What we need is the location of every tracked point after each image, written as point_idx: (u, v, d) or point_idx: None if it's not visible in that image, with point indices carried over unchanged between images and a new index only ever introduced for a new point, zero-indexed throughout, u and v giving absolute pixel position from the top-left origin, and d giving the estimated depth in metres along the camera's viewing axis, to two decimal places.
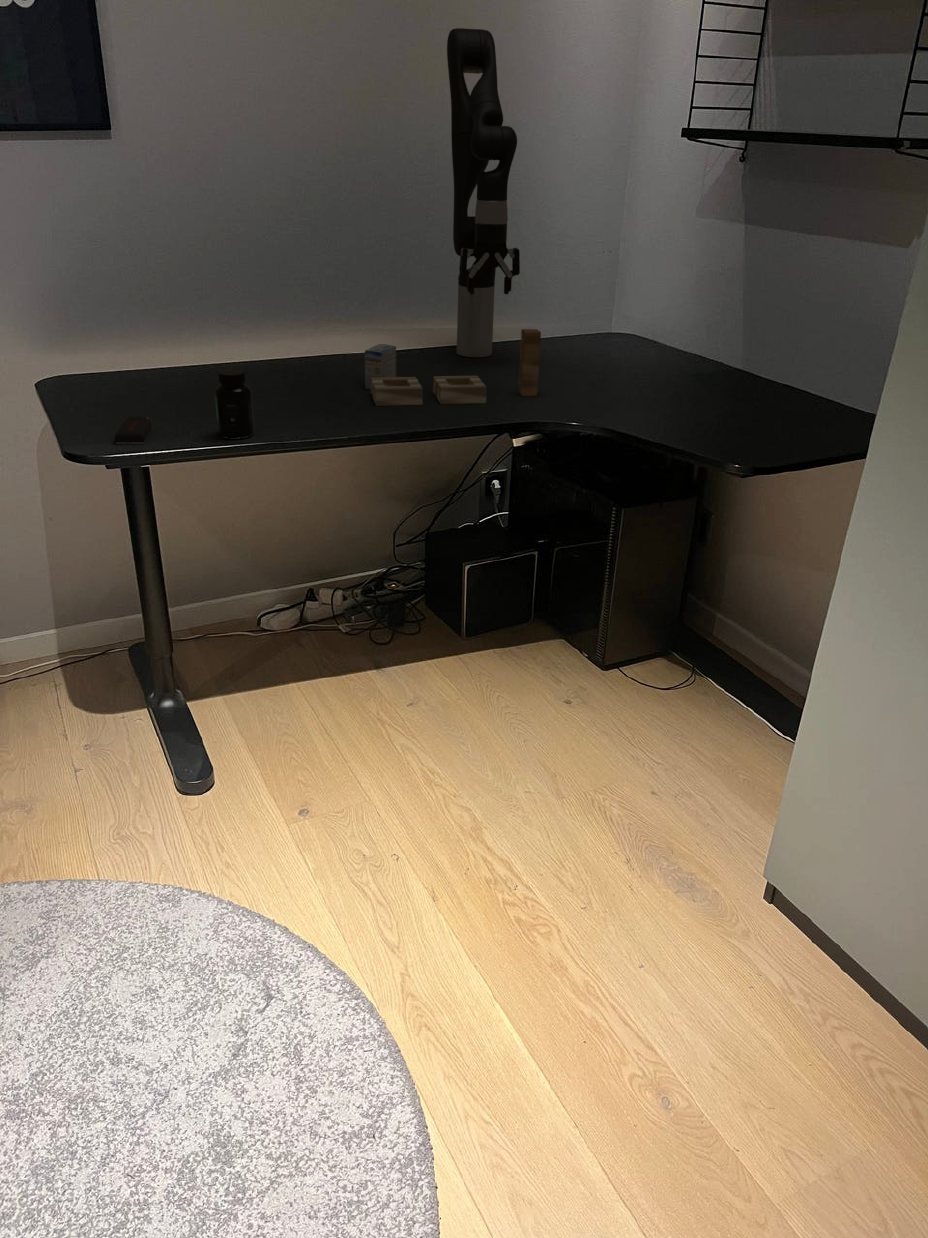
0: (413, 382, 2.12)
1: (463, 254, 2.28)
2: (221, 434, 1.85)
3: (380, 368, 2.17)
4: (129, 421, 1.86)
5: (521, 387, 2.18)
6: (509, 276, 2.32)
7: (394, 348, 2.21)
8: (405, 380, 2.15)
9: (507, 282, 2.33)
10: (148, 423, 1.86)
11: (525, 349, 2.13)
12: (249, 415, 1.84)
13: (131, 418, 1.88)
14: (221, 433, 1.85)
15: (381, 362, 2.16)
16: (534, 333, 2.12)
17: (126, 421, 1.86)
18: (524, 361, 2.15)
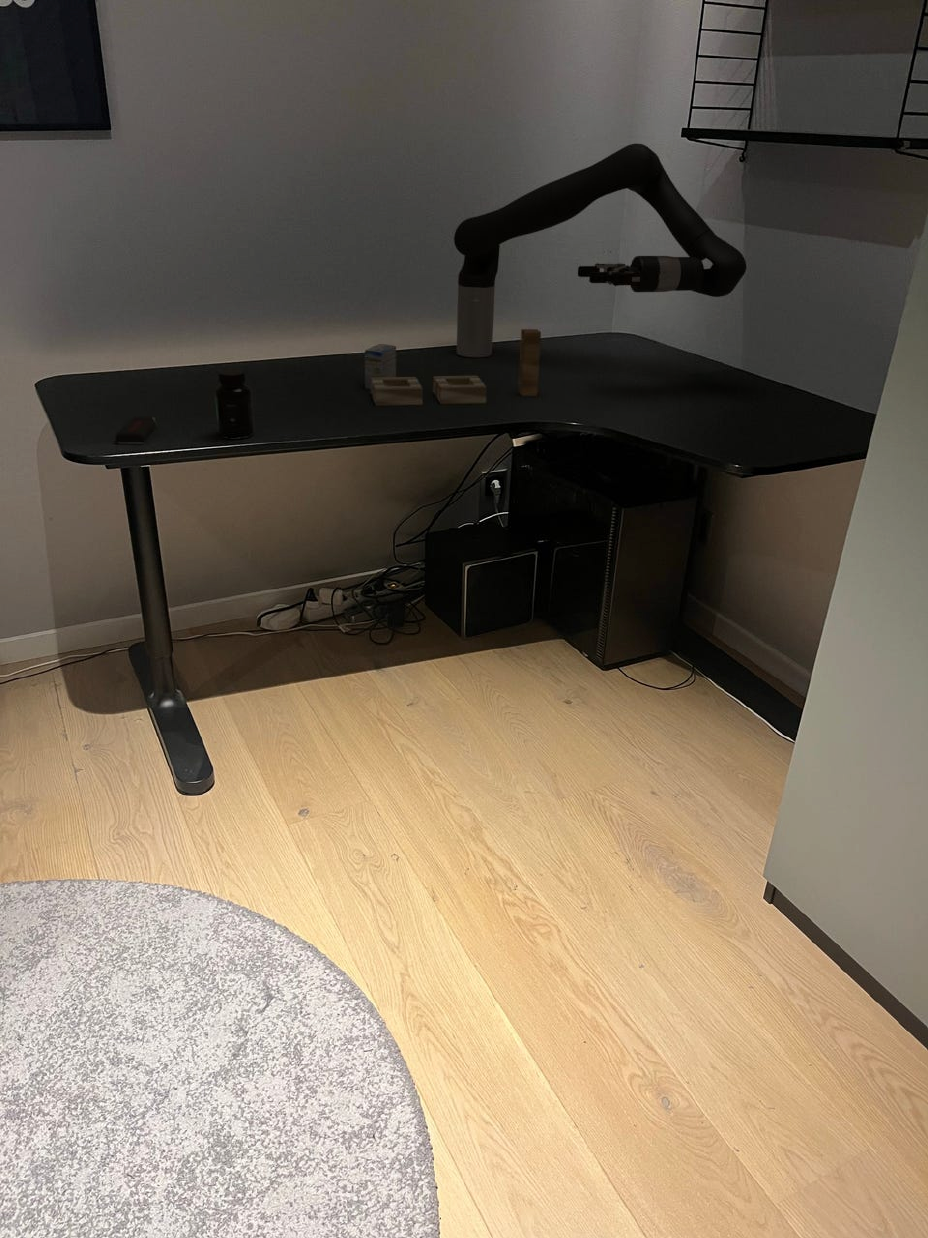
0: (413, 382, 2.12)
1: (633, 284, 2.06)
2: (221, 434, 1.85)
3: (380, 368, 2.17)
4: (133, 421, 1.86)
5: (521, 387, 2.18)
6: None
7: (394, 348, 2.21)
8: (405, 380, 2.15)
9: (589, 276, 2.15)
10: (152, 423, 1.86)
11: (525, 349, 2.13)
12: (249, 415, 1.84)
13: (136, 418, 1.88)
14: (221, 433, 1.85)
15: (381, 362, 2.16)
16: (534, 333, 2.12)
17: (130, 421, 1.86)
18: (524, 361, 2.15)
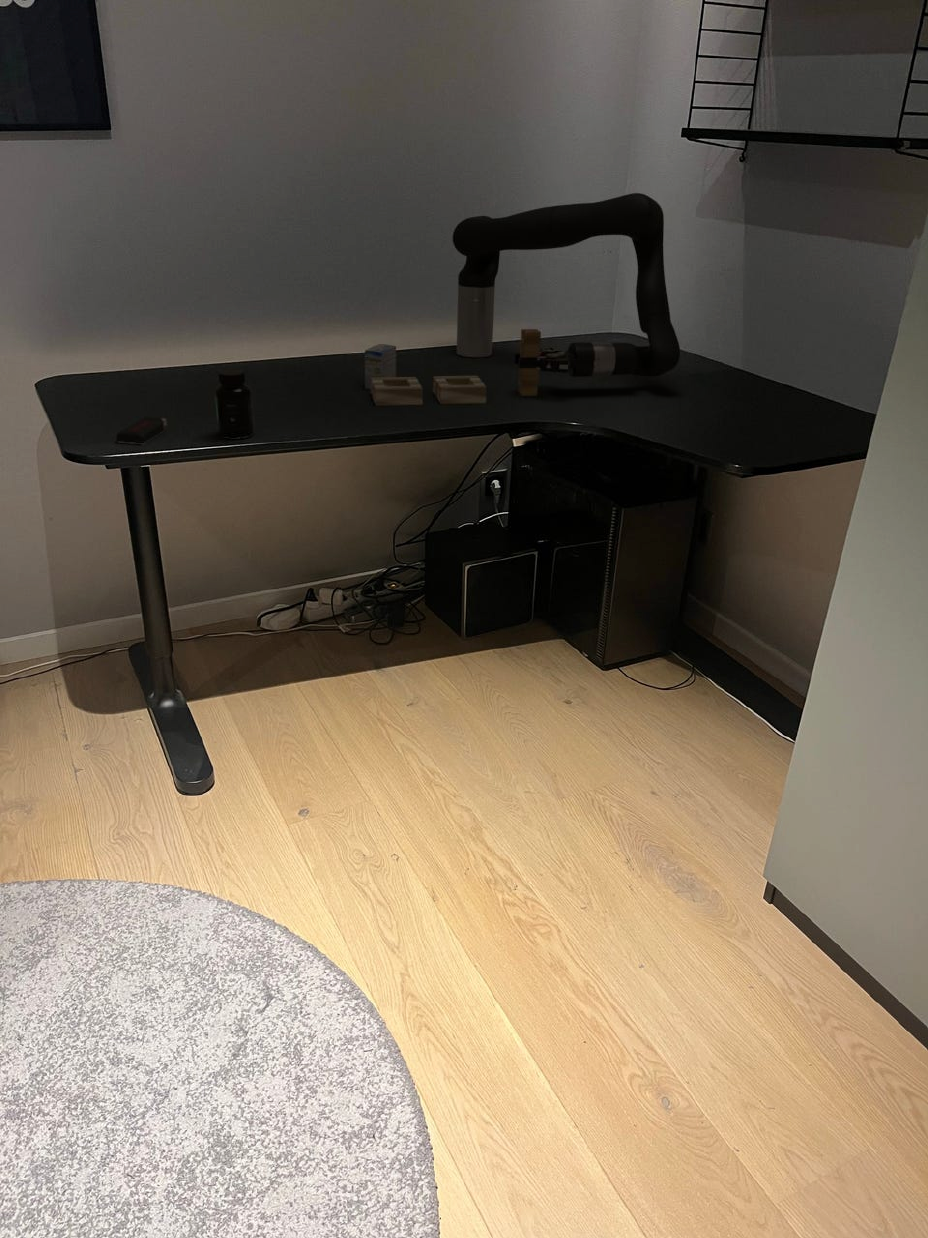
0: (413, 382, 2.12)
1: (561, 371, 2.13)
2: (221, 434, 1.85)
3: (380, 368, 2.17)
4: (142, 421, 1.86)
5: (522, 387, 2.18)
6: None
7: (394, 348, 2.21)
8: (405, 380, 2.15)
9: None
10: (158, 424, 1.86)
11: (525, 349, 2.13)
12: (249, 415, 1.84)
13: (146, 418, 1.88)
14: (221, 433, 1.85)
15: (381, 362, 2.16)
16: (534, 333, 2.12)
17: (139, 420, 1.87)
18: None
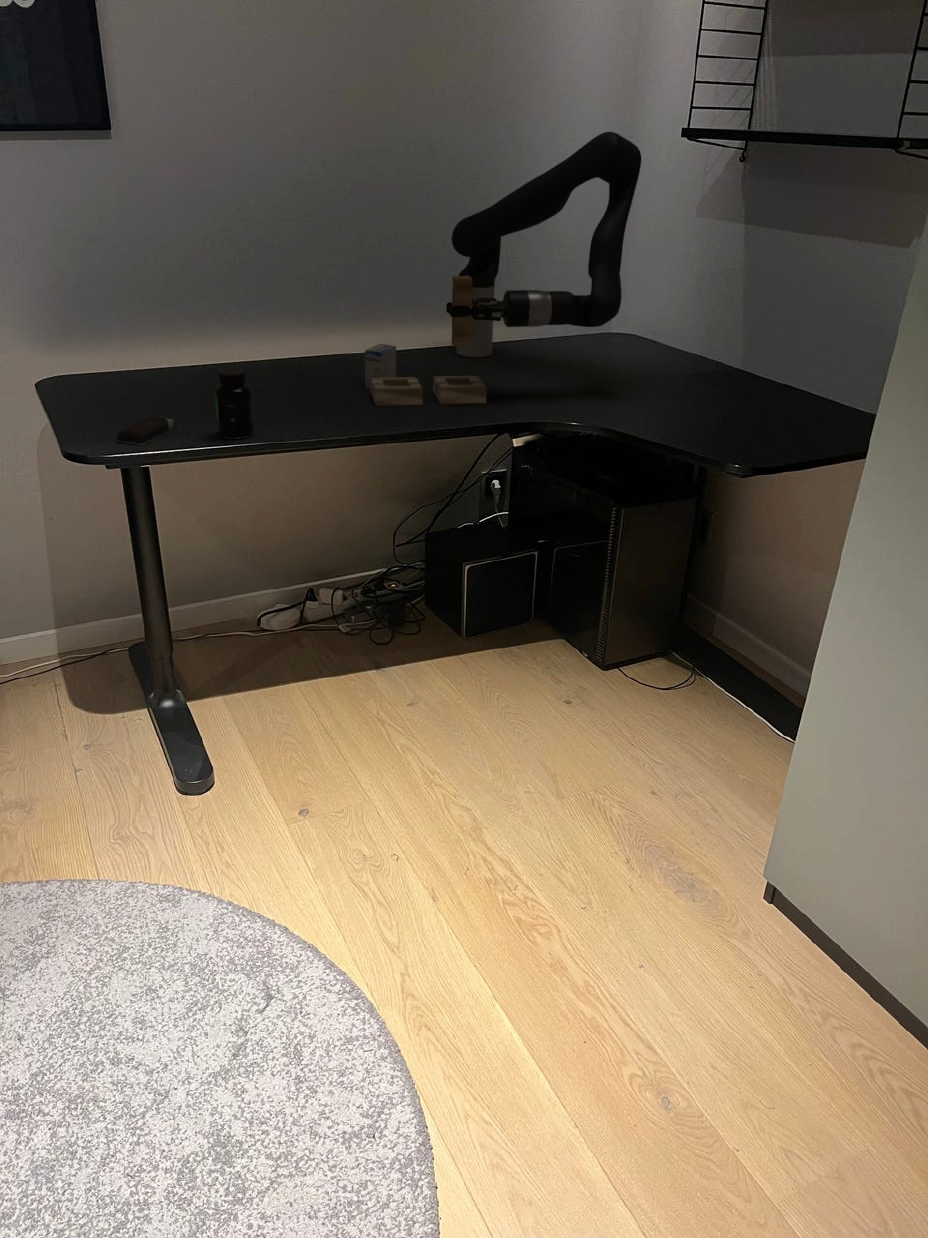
0: (413, 382, 2.12)
1: (494, 320, 2.03)
2: (221, 434, 1.85)
3: (380, 368, 2.17)
4: (147, 421, 1.86)
5: (454, 338, 2.08)
6: None
7: (394, 348, 2.21)
8: (405, 380, 2.15)
9: None
10: (162, 425, 1.85)
11: (456, 297, 2.04)
12: (249, 415, 1.84)
13: (152, 418, 1.88)
14: (221, 433, 1.85)
15: (381, 362, 2.16)
16: (465, 279, 2.03)
17: (144, 420, 1.87)
18: None
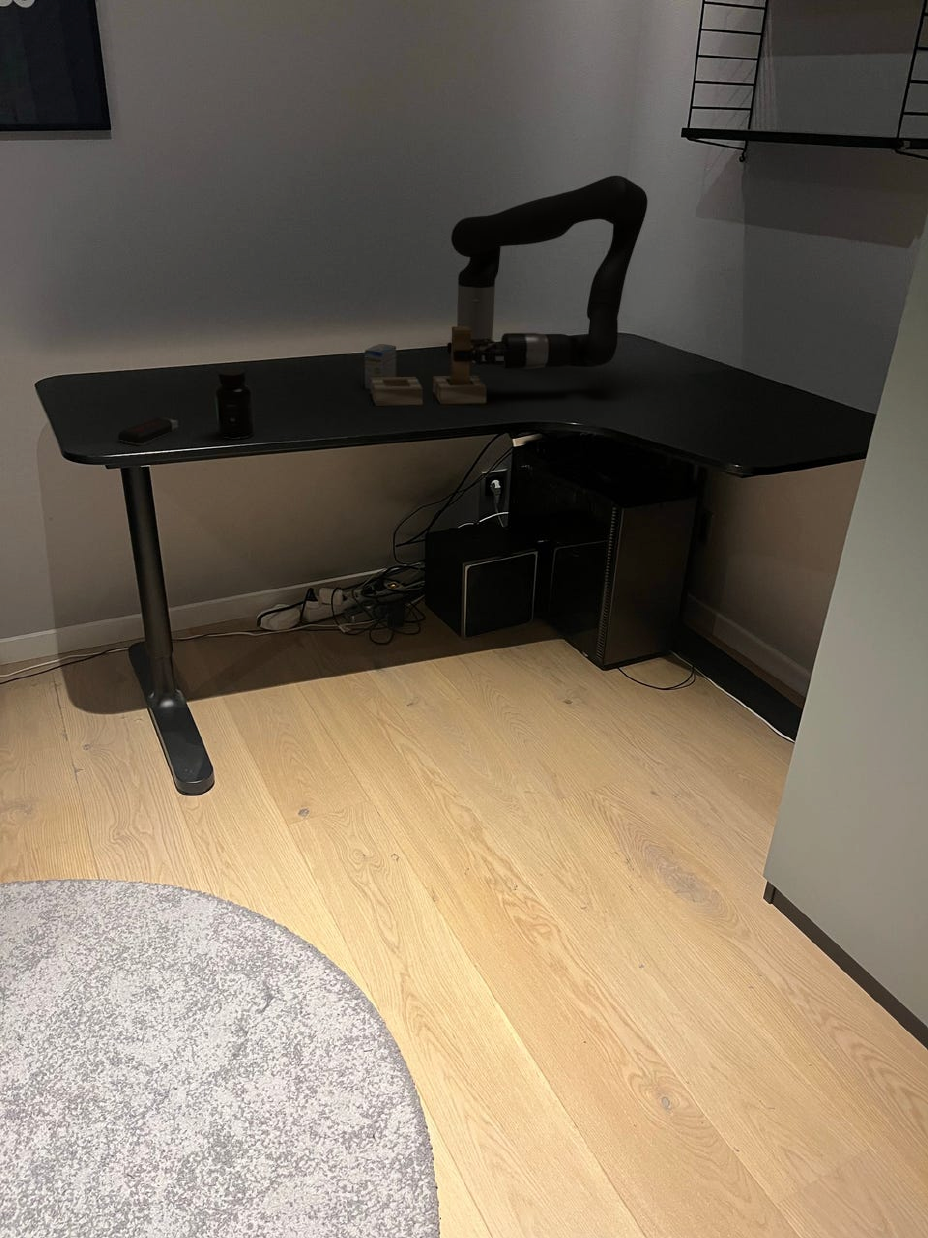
0: (413, 382, 2.12)
1: (497, 363, 2.07)
2: (221, 434, 1.85)
3: (380, 368, 2.17)
4: (150, 421, 1.86)
5: None
6: None
7: (394, 348, 2.21)
8: (405, 380, 2.15)
9: None
10: (164, 426, 1.85)
11: (455, 347, 2.09)
12: (249, 415, 1.84)
13: (156, 419, 1.88)
14: (221, 433, 1.85)
15: (381, 362, 2.16)
16: (464, 330, 2.08)
17: (148, 421, 1.87)
18: None
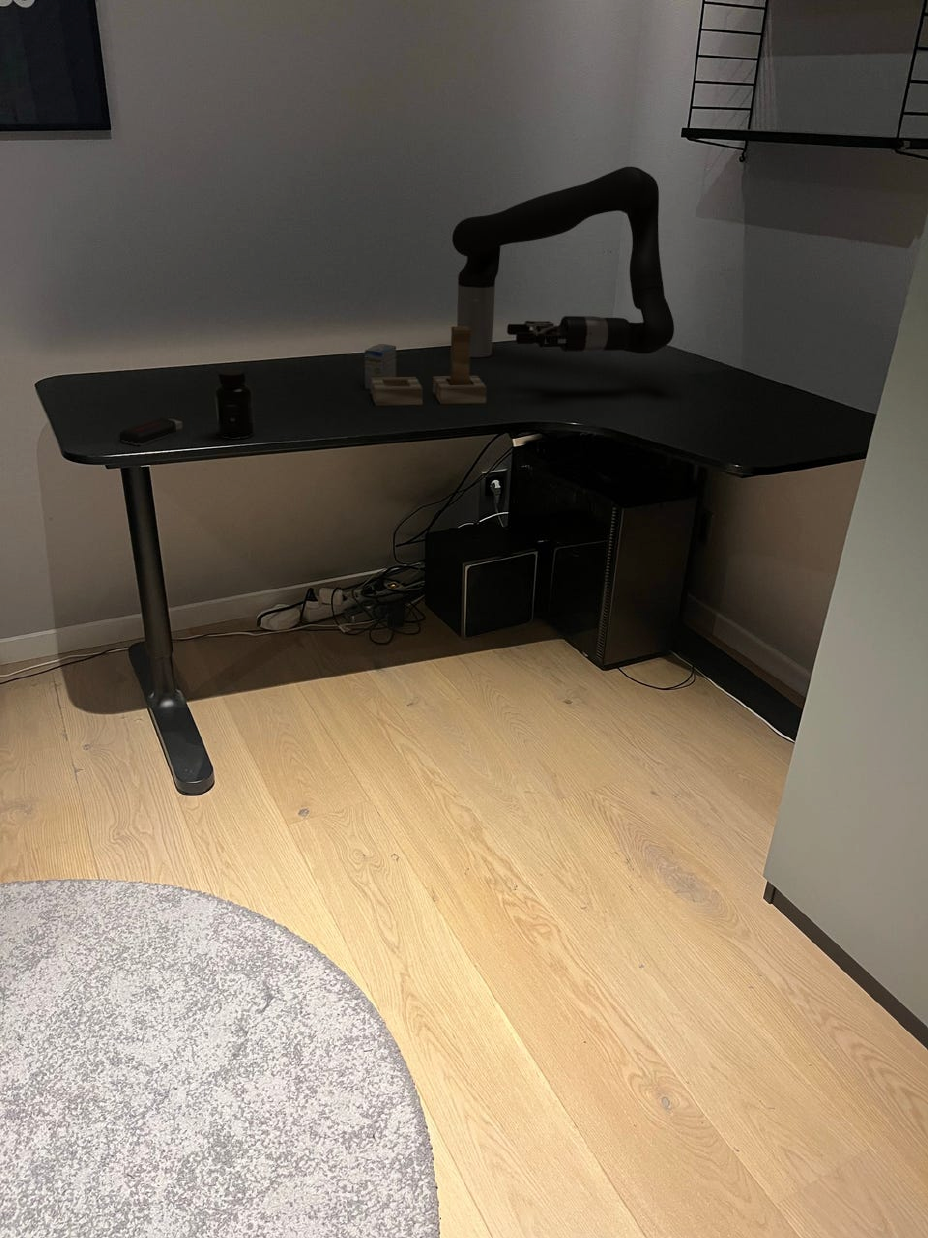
0: (413, 382, 2.12)
1: None
2: (221, 434, 1.85)
3: (380, 368, 2.17)
4: (154, 421, 1.86)
5: None
6: None
7: (394, 348, 2.21)
8: (405, 380, 2.15)
9: None
10: (166, 427, 1.85)
11: (455, 347, 2.09)
12: (249, 415, 1.84)
13: (161, 419, 1.87)
14: (221, 433, 1.85)
15: (381, 362, 2.16)
16: (463, 330, 2.07)
17: (152, 421, 1.87)
18: (454, 359, 2.10)
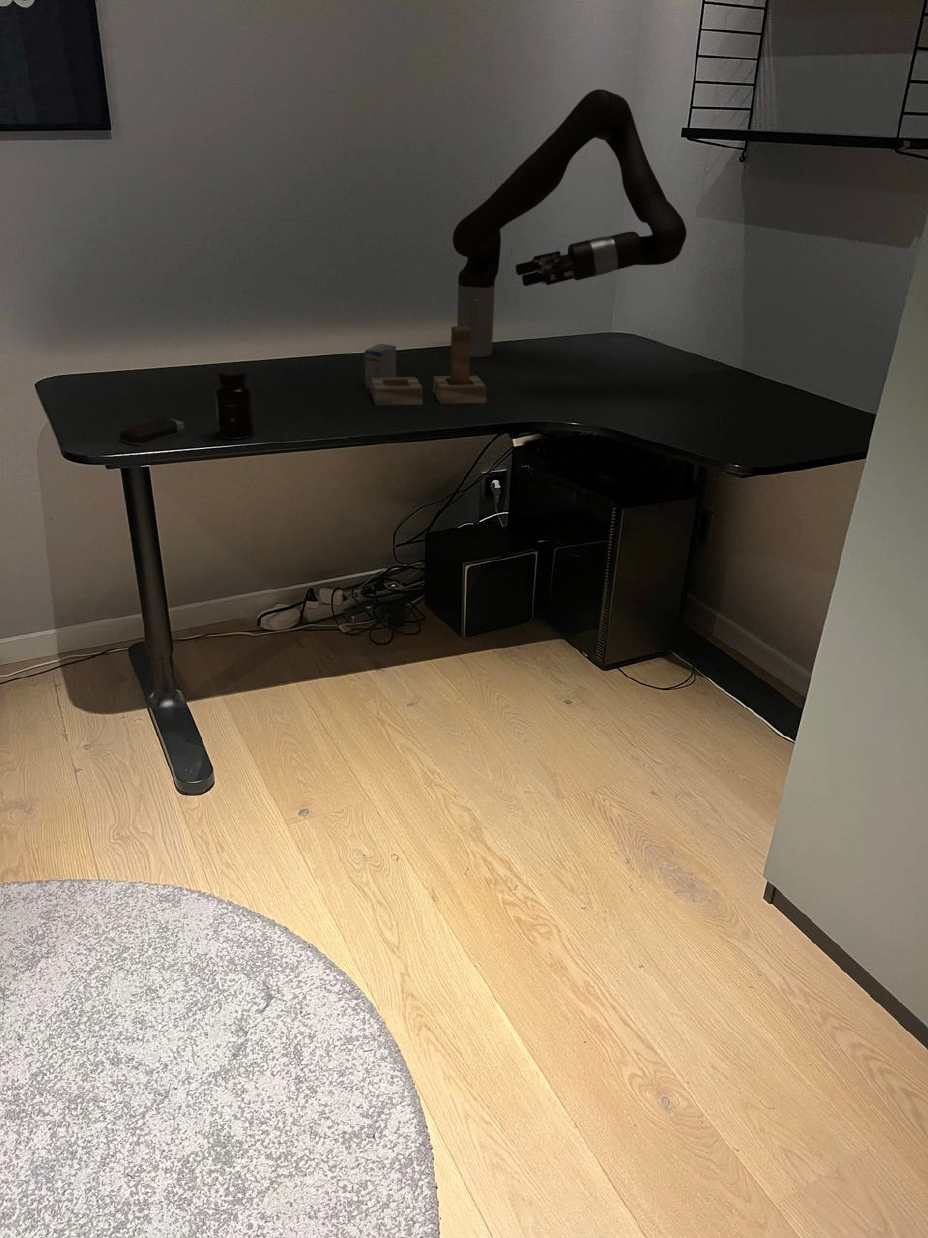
0: (413, 382, 2.12)
1: (567, 279, 2.04)
2: (221, 434, 1.85)
3: (380, 368, 2.17)
4: (156, 422, 1.86)
5: None
6: None
7: (394, 348, 2.21)
8: (405, 380, 2.15)
9: None
10: (167, 427, 1.84)
11: (455, 347, 2.09)
12: (249, 415, 1.84)
13: (162, 419, 1.87)
14: (221, 433, 1.85)
15: (381, 362, 2.16)
16: (463, 330, 2.07)
17: (154, 421, 1.86)
18: (454, 359, 2.10)
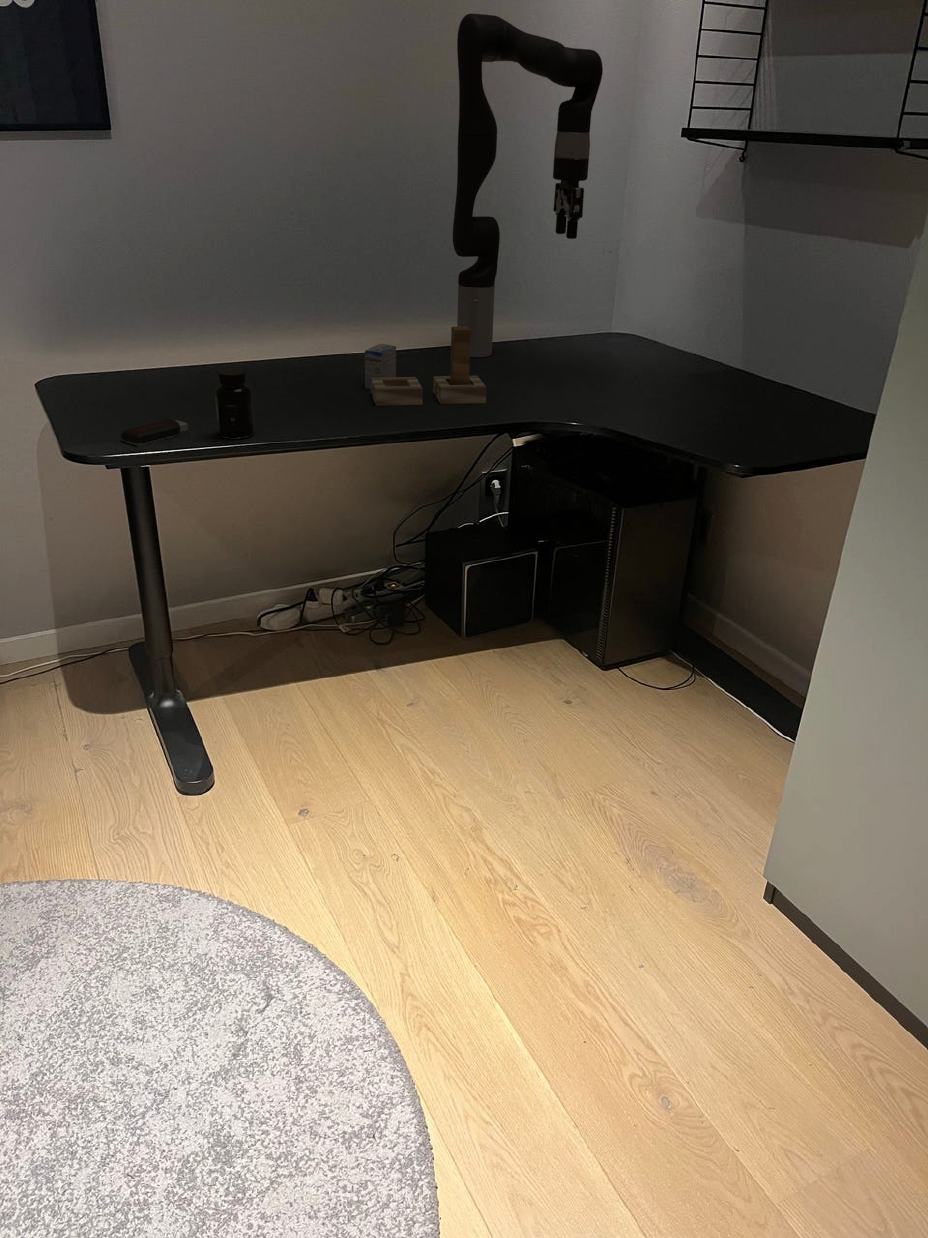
0: (413, 382, 2.12)
1: None
2: (221, 434, 1.85)
3: (380, 368, 2.17)
4: (159, 422, 1.86)
5: None
6: None
7: (394, 348, 2.21)
8: (405, 380, 2.15)
9: None
10: (169, 428, 1.84)
11: (455, 347, 2.09)
12: (249, 415, 1.84)
13: (166, 420, 1.87)
14: (221, 433, 1.85)
15: (381, 362, 2.16)
16: (463, 330, 2.07)
17: (157, 422, 1.86)
18: (454, 359, 2.10)
